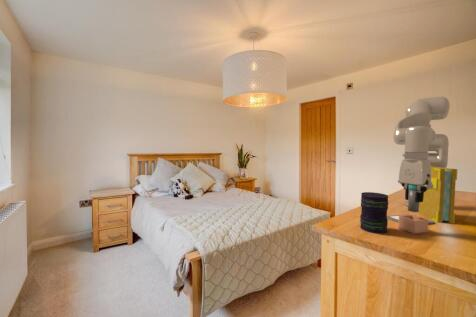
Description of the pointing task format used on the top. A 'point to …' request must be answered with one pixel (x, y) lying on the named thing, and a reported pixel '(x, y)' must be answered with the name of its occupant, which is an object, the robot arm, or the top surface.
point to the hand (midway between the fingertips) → (413, 200)
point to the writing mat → (396, 217)
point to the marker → (412, 199)
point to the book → (440, 196)
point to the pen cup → (413, 224)
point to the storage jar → (374, 212)
